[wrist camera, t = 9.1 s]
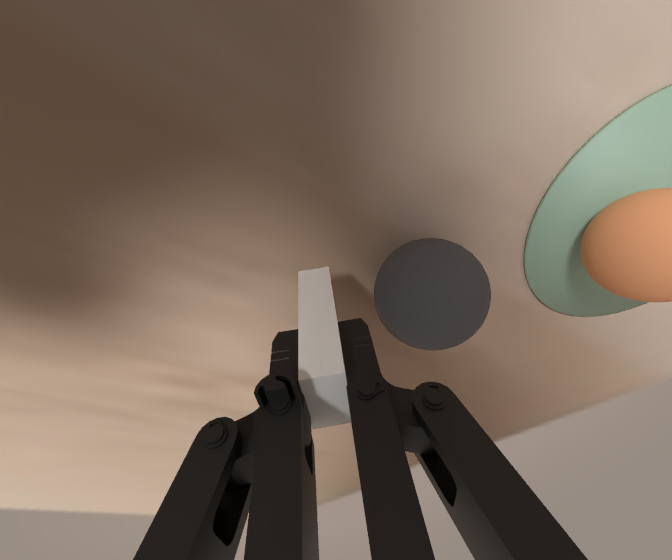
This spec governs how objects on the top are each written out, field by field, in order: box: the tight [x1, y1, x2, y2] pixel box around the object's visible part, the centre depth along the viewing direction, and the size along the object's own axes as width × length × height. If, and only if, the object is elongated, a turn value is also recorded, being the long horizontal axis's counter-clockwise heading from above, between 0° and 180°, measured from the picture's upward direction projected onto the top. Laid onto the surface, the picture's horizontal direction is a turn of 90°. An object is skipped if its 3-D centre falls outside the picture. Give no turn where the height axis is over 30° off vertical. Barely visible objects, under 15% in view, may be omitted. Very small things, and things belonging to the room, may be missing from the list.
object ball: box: [580, 188, 672, 302], centre depth 15 cm, size 6×6×6 cm
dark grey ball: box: [374, 238, 491, 350], centre depth 16 cm, size 6×6×6 cm
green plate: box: [524, 84, 672, 317], centre depth 18 cm, size 14×14×1 cm
